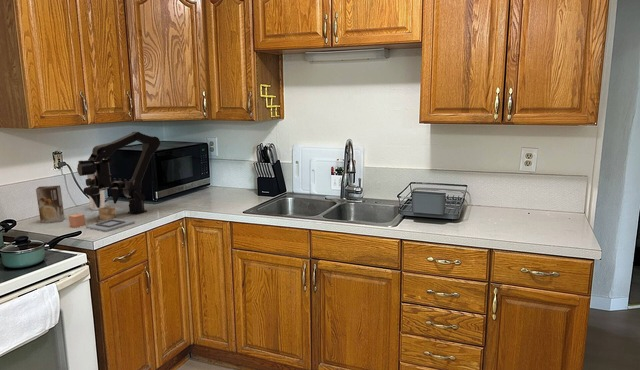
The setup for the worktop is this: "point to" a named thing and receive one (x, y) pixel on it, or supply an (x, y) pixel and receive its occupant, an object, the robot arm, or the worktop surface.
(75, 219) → the terracotta block
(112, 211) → the oak cube
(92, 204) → the water bottle
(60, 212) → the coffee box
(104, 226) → the grey flat square plate
